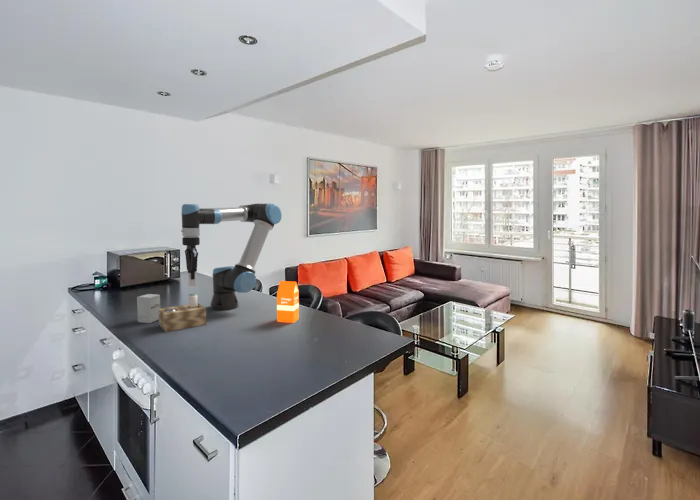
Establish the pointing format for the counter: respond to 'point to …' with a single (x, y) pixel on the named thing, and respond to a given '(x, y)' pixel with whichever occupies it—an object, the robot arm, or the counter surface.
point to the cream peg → (193, 300)
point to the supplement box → (148, 308)
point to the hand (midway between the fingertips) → (192, 285)
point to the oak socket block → (182, 317)
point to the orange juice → (287, 302)
